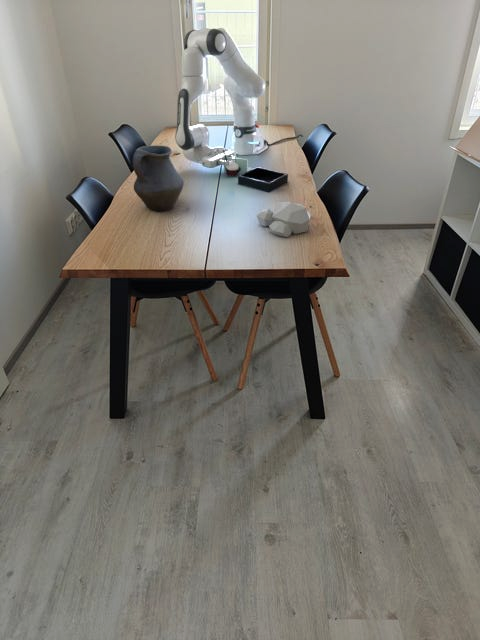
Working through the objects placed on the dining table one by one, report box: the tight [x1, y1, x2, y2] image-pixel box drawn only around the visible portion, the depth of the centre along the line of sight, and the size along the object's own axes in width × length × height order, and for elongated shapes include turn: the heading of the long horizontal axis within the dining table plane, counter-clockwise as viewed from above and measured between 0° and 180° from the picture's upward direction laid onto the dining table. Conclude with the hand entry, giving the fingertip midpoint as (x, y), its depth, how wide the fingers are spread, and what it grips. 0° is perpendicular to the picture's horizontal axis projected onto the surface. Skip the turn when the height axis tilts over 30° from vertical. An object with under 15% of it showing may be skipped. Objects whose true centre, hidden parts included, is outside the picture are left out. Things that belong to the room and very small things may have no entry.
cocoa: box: [223, 150, 241, 177], centre depth 211 cm, size 10×6×12 cm, turn 92°
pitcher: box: [132, 145, 185, 212], centre depth 176 cm, size 21×22×25 cm
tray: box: [237, 166, 289, 193], centre depth 205 cm, size 16×18×4 cm
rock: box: [256, 200, 311, 238], centre depth 165 cm, size 18×20×10 cm
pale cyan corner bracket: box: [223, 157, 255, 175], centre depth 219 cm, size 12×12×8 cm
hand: (232, 161), depth 211 cm, fingers closed on cocoa, 5 cm apart
